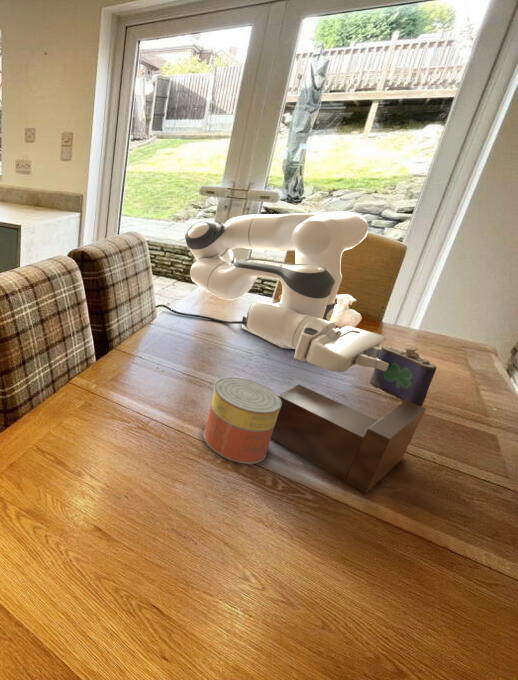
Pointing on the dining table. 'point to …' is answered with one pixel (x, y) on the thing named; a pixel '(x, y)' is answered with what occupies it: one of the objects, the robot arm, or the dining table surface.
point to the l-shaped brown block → (345, 435)
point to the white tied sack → (345, 312)
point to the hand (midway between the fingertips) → (392, 364)
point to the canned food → (241, 419)
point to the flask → (404, 375)
